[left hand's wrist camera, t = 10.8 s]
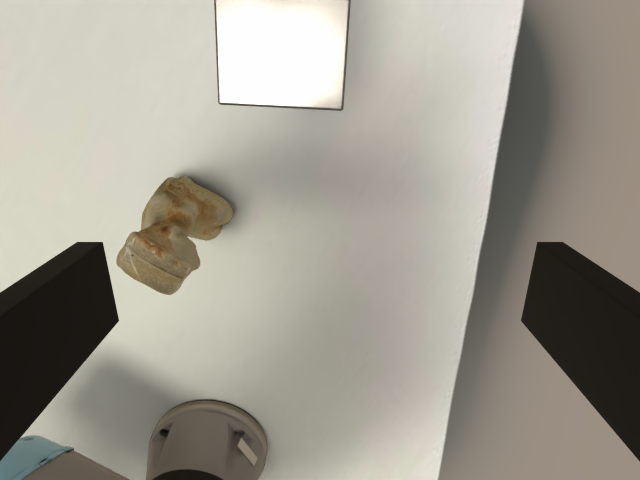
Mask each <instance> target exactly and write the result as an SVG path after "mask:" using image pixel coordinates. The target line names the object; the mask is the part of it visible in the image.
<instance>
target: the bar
mask: <svg viewBox="0 0 640 480" xmlns="http://www.w3.org/2000/svg"><path fill="white" fill-rule="evenodd" d="M350 1H351V0H214V5H215V31H216V56H217V82H218V103H219V104H221V105H240V106H260V107H279V108H298V109H318V110H337V111H341V110H343V105H344V90H345V75H346V60H347V45H348V30H349V15H350Z"/></svg>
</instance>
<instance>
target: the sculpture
mask: <svg viewBox="0 0 640 480" xmlns="http://www.w3.org/2000/svg"><path fill="white" fill-rule="evenodd" d="M232 214H233V210H232V208H231V206H230V204H229V203H228V202H227V201H226V200H225V199H223V198H222V197H220V196H218V195H217V194H215V193H213V192H211V191H209V190H207V189H205V188H203V187H201V186H199V185H197V184H195V183H194V182H193V181H192V180H191V179H190V178H188V177H184V176H183V177H180V178H178V179H176V178H171V177H170V178H167V179H166V180H165V181H164V182H163V183H162V184H161V185H160V187H159V188H158V189H157V190H156V192H155V193H154V194H153V196H152V197H151V199H150V200H149V202H148V203H147V205H146V207H145V209H144V212H143V215H142V224H141V231H139V232H132V233H131V234H130V235H129V237H128V238H127V240H126V243H125V245H124V246H123V248H122V249H121V251H120V252H119V254H118V256H117V265H118V267H120V268H121V269H122V270H123V271H124V272H125V273H126V274H128V275H129V276H130V277H132V278H133V279H135V280H137V281H139V282H141V283H143V284H145V285H147V286H149V287H151V288H152V289H154V290H156V291H158V292H160V293H163V294H167V295H171V294H173V293H175V292H176V291H177V290H178V289H179V288H180V286H181V284H182V283H183V281H184V279H185V278H186V277H187V276H188V275H189V274H190V273H191V272H192V271H193V270H195V269H198V268H199V266H200V259H199V257H198V254H197V250H196V245H195V244H194V243H193V242H192V241H191V240H190V239H189V238H187V237H188V236H189V237H192V238H196V239H201V240H211V239H213V238H215V237H216V236H217V235H218V234H219V233H220V232H221V230H222V226H221V225H222V224H227V223H228V222H229V221H230V220H231V218H232Z"/></svg>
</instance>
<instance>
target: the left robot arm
mask: <svg viewBox="0 0 640 480" xmlns="http://www.w3.org/2000/svg"><path fill="white" fill-rule="evenodd" d="M118 321H119V319H118V314H117V309H116V304H115V299H114V295H113V290H112V285H111V280H110V275H109V270H108V266H107V261H106V256H105V251H104V246H103V242H77V243H75V244H74V245H72V246H71V247H69V248H68V249H66V250H64V251H63V252H61V253H60V254H58V255H57V256H55V257H54V258H52V259H51V260H49V261H48V262H46V263H45V264H43V265H42V266H40V267H39V268H37V269H36V270H34V271H33V272H31V273H30V274H28V275H26V276H25V277H23V278H22V279H20V280H19V281H17V282H16V283H14V284H13V285H11V286H10V287H8V288H7V289H5V290H4V291H2V292H1V293H0V480H129V479H127V478H125V477H123V476H121V475H120V474H118V473H116V472H114V471H112V470H110V469H108V468H106V467H104V466H102V465H100V464H98V463H97V462H95V461H93V460H91V459H89V458H87V457H85V456H83V455H81V454H79V453H77V452H75V451H74V448H72V447H64V446H61V445H59V444H57V443H55V442H52V441H50V440H48V439H45V438H43V437H41V436H35V435H31V436H26V437H23V438H20V437H21V436H22V435H23V434H24V433H25V431H26V430H27V429H28V428H29V427H30V425H31V424H32V423H33V422H34V421H35V420H36V418H37V417H38V416H39V415H40V414H41V412H42V411H43V410H44V409H45V408H46V406H47V405H48V404H49V403H50V402H51V401H52V399H53V398H54V397H55V396H56V395H57V393H58V392H59V391H60V390H61V389H62V388H63V386H64V385H65V384H66V383H67V382H68V380H69V379H70V378H71V377H72V376H73V375H74V373H75V372H76V371H77V370H78V369H79V367H80V366H81V365H82V364H83V363H84V361H85V360H86V359H87V358H88V357H89V356H90V354H91V353H92V352H93V351H94V350H95V348H96V347H97V346H98V345H99V344H100V343H101V341H102V340H103V339H104V338H105V337H106V335H107V334H108V333H109V332H110V331H111V330H112V328H113V327H114V326H115V325H116V324H117V322H118ZM521 321H522V322H523V324H524V325H525V326H526V327H527V328H528V330H529V331H530V332H531V333H532V334H533V335H534V337H535V338H536V339H537V340H538V341H539V343H540V344H541V345H542V346H543V347H544V348H545V350H546V351H547V352H548V353H549V354H550V356H551V357H552V358H553V359H554V360H555V361H556V363H557V364H558V365H559V366H560V367H561V369H562V370H563V371H564V372H565V373H566V374H567V376H568V377H569V378H570V379H571V380H572V382H573V383H574V384H575V385H576V386H577V388H578V389H579V390H580V391H581V392H582V393H583V395H584V396H585V397H586V398H587V399H588V401H589V402H590V403H591V404H592V405H593V406H594V408H595V409H596V410H597V411H598V412H599V414H600V415H601V416H602V417H603V418H604V419H605V421H606V422H607V423H608V424H609V425H610V427H611V428H612V429H613V430H614V431H615V433H616V434H617V435H618V436H619V437H620V438H621V440H622V441H623V442H624V443H625V444H626V446H627V447H628V448H629V449H630V450H631V451H632V453H633V454H634V455H635V456H636V457H637V459H638V460H639V461H640V293H639V292H638V291H636V290H635V289H633V288H632V287H630V286H629V285H627V284H626V283H624V282H623V281H621V280H620V279H618V278H617V277H615V276H614V275H612V274H610V273H609V272H607V271H606V270H604V269H603V268H601V267H600V266H598V265H597V264H595V263H594V262H592V261H591V260H589V259H588V258H586V257H585V256H583V255H582V254H580V253H579V252H577V251H576V250H574V249H572V248H571V247H569V246H568V245H566V244H565V243H563V242H537V246H536V251H535V256H534V261H533V266H532V271H531V275H530V280H529V285H528V290H527V295H526V299H525V304H524V309H523V314H522V319H521ZM19 438H20V439H19ZM266 452H267V441H266V437H265V435H264V432H263V430H262V429H261V427H260V426H259V424H258V423H257V422H256V421H255V420H254V419H253V418H252V417H251V416H250V415H248V414H247V413H246V412H244V411H242V410H241V409H239V408H237V407H234V406H232V405H229V404H226V403H222V402H217V401H193V402H188V403H184V404H181V405H179V406H177V407H175V408H173V409H171V410H170V411H168V412H167V413H166V414H165V415H164V416H163V417H162V418H161V419H160V420H159V422H158V424H157V426H156V428H155V430H154V432H153V434H152V436H151V439H150V442H149V451H148V463H147V475H146V480H258V478H259V477H260V475H261V473H262V471H263V468H264V465H265V459H266Z"/></svg>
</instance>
